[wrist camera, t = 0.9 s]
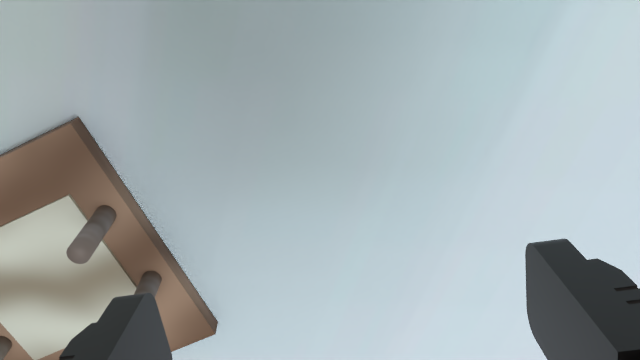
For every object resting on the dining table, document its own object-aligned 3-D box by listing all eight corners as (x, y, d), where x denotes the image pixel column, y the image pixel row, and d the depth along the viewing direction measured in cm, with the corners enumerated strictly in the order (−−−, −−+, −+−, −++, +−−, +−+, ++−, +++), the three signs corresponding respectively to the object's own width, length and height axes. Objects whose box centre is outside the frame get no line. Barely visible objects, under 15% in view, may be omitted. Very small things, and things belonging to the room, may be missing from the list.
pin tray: (-120, 213, 32) (-198, 264, 27) (78, 116, 31) (34, 152, 25) (44, 393, 39) (5, 462, 33) (217, 322, 37) (205, 383, 32)
